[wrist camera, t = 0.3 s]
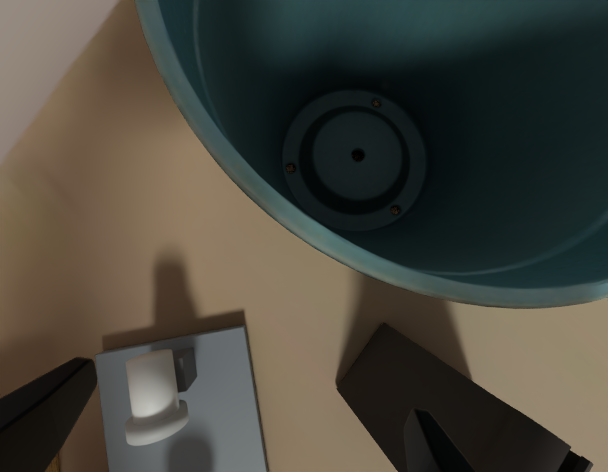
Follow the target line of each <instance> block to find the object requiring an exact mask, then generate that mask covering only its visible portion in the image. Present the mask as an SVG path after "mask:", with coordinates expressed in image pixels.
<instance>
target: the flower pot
mask: <svg viewBox="0 0 608 472" xmlns="http://www.w3.org/2000/svg"><path fill="white" fill-rule="evenodd" d="M134 1H135V5H136V10H137V14H138V17H139V20H140V23H141V27H142V30H143V33H144V37H145V39H146V42H147V44H148V47H149V49H150V52H151V54H152V57H153V59H154V62H155V64H156V67H157V69H158V71H159V73H160V75H161V77H162V79H163V81H164V83H165V85H166V87H167V88H168V90H169V92H170V94H171V96H172V98H173V100H174V102H175V104H176V105H177V107H178V108H179V110H180V112H181V113H182V115H183V116H184V118H185V120H186V121H187V123H188V124H189V126H190V127H191V129H192V130H193V132H194V133H195V134H196V136H197V137H198V139H199V140H200V141H201V143H202V144H203V145H204V147H205V148H206V149H207V151H208V152H209V153H210V155H211V156H212V157H213V159H214V160H215V161H216V162H217V164H218V165H219V166H220V167H221V168H222V169H223V170H224V172H225V173H226V174H227V175H228V176H229V177H230V179H231V180H232V181H233V182H234V183H235V184H236V185H237V186H238V187H239V188H240V189H241V190H242V191H243V192H244V193H245V194H246V195H247V196H248V197H249V198H250V199H251V200H252V201H254V202H255V203H256V204H257V205H258V206H259V207H260V208H261V209H262V210H264V211H265V212H266V213H267V214H268V215H269V216H271V217H272V218H273V219H275V220H276V221H277V222H278V223H280V224H281V225H282V226H283V227H285V228H286V229H287V230H289V231H290V232H291V233H293V234H294V235H296V236H297V237H299V238H300V239H302V240H303V241H305V242H306V243H308V244H309V245H311V246H312V247H314V248H315V249H317V250H319V251H320V252H322V253H324V254H326V255H327V256H329V257H331V258H333V259H335V260H336V261H338V262H340V263H342V264H344V265H346V266H348V267H350V268H352V269H354V270H356V271H358V272H361V273H363V274H365V275H367V276H369V277H372V278H375V279H377V280H380V281H383V282H386V283H388V284H391V285H394V286H397V287H400V288H402V289H405V290H408V291H412V292H415V293H419V294H423V295H426V296H430V297H435V298H439V299H444V300H449V301H453V302H458V303H464V304H471V305H478V306H485V307H499V308H513V309H533V308H551V307H562V306H569V305H576V304H584V303H588V302H592V301H597V300H601V299H605V298H608V0H134ZM376 100H377V101H379V103H380V106H379V107H374V106H373V102H374V101H376ZM355 150H359V151H361V152H362V153H363V155H364V158H363V160H362V161H360V162H357V161H355V160H353V159H352V152H353V151H355ZM289 164H293V165H295V167H296V170H295V172H293V173H288V172H287V170H286V167H287V165H289ZM393 206H397V207H398V208H399V213H398V214H396V215H394V214H392V212H391V208H392V207H393Z"/></svg>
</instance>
